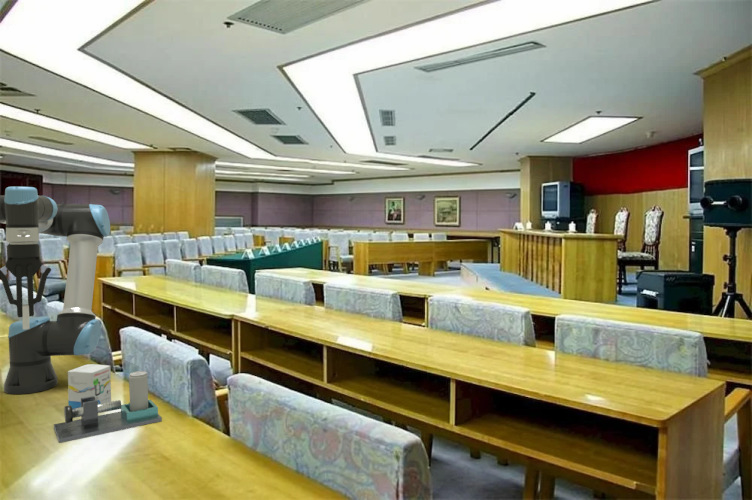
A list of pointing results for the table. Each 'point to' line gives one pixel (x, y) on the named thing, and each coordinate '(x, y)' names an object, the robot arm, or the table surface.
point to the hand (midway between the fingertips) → (26, 328)
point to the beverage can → (138, 390)
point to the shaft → (78, 412)
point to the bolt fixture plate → (104, 420)
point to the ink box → (89, 384)
